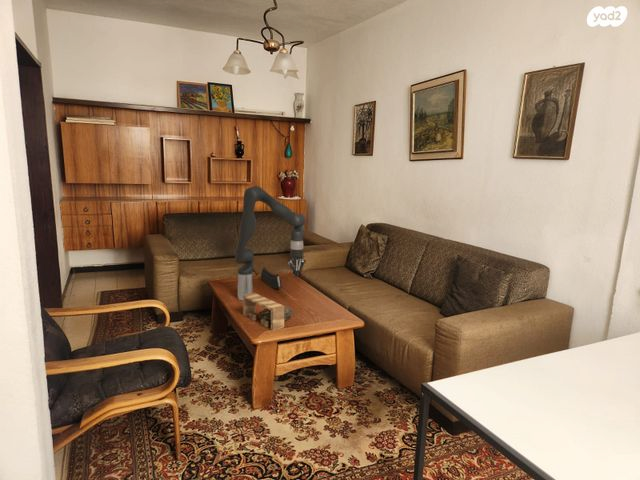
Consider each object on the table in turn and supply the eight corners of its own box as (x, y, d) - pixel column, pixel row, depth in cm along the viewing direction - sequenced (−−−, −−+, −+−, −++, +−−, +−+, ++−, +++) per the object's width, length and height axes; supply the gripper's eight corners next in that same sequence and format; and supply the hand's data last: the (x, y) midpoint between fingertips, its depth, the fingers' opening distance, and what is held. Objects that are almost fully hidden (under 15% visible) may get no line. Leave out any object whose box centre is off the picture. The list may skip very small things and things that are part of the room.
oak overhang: (243, 315, 238) (242, 295, 236) (253, 312, 243) (253, 292, 241) (273, 330, 217) (273, 309, 215) (284, 327, 222) (284, 306, 220)
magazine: (259, 267, 308) (275, 265, 282) (263, 267, 310) (279, 265, 284) (262, 290, 307) (278, 290, 281) (266, 290, 309) (282, 289, 283)
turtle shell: (253, 306, 237) (285, 296, 244) (256, 320, 239) (288, 310, 246) (260, 316, 222) (294, 305, 229) (264, 331, 224) (297, 319, 231)
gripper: (301, 245, 246) (300, 272, 250) (284, 248, 237) (283, 276, 241) (309, 247, 241) (308, 275, 245) (292, 250, 232) (291, 279, 236)
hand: (296, 276), depth 243 cm, fingers closed
